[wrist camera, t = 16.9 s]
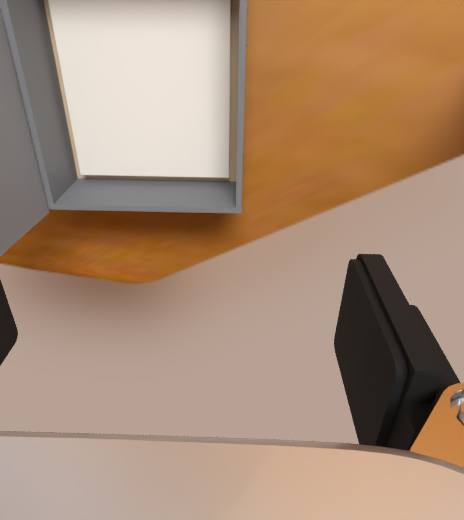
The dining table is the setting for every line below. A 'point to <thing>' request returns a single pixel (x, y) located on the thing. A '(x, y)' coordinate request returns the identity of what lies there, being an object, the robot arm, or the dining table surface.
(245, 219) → the dining table surface
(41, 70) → the box
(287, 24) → the dining table surface
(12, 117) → the lid
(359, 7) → the dining table surface
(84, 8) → the white flat rectangular panel
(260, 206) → the dining table surface
